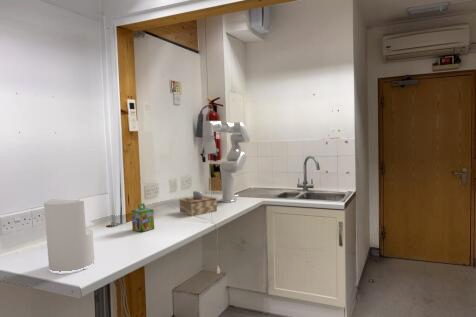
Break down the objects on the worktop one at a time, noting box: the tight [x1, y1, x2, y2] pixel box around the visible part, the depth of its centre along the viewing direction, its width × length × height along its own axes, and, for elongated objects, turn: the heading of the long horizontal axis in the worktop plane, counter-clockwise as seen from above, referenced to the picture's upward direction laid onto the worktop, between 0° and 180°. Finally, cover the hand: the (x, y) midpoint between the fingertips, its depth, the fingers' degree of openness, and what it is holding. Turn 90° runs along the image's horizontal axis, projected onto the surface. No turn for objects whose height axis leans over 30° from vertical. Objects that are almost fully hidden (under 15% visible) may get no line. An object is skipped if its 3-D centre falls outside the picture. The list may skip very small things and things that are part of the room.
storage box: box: [178, 199, 218, 217], centre depth 241 cm, size 20×16×8 cm
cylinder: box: [43, 199, 96, 272], centre depth 145 cm, size 17×17×28 cm
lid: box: [178, 194, 217, 204], centre depth 241 cm, size 20×16×1 cm
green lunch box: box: [130, 203, 155, 233], centre depth 199 cm, size 9×9×15 cm
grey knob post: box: [192, 190, 203, 200], centre depth 240 cm, size 6×6×5 cm
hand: (209, 161), depth 254 cm, fingers open, 9 cm apart
